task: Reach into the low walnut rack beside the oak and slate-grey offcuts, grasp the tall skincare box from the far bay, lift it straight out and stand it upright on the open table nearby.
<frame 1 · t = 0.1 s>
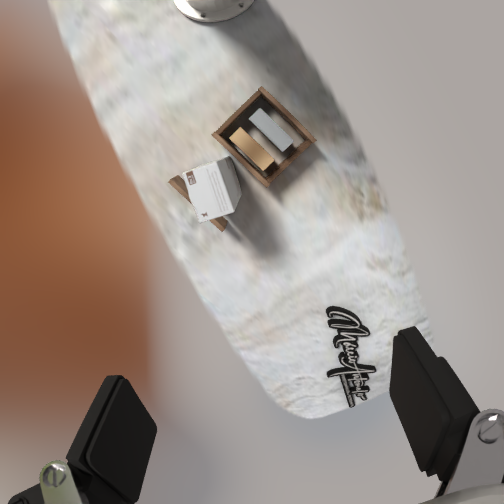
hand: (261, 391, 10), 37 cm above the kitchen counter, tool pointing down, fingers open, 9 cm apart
walnut rack: (242, 157, 42), on the kitchen counter
oak offcut: (252, 147, 42), resting in walnut rack
slate offcut: (269, 130, 41), resting in walnut rack
skincare box: (221, 178, 44), on the kitchen counter
nameplate: (348, 358, 56), on the kitchen counter
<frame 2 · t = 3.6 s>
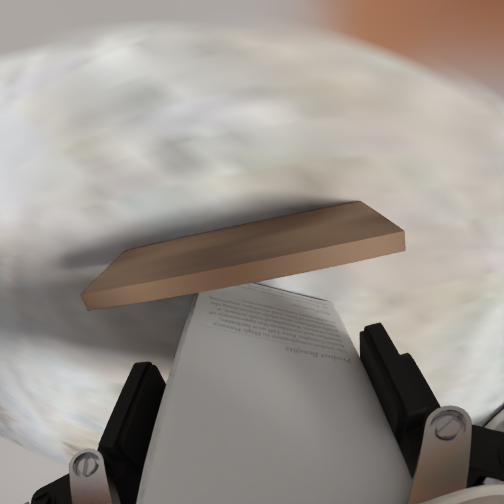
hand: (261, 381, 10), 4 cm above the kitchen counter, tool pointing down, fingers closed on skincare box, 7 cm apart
walnut rack: (277, 386, 15), on the kitchen counter
skincare box: (261, 319, 14), on the kitchen counter, touching gripper
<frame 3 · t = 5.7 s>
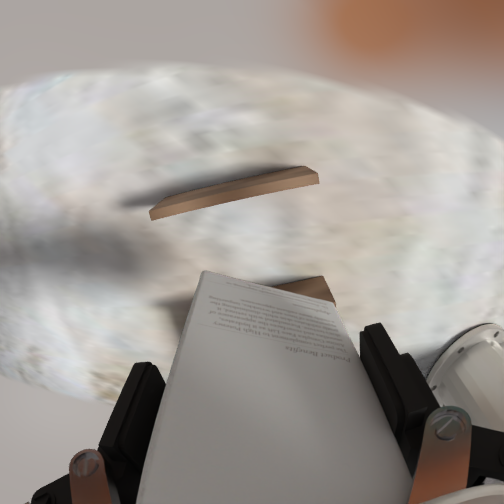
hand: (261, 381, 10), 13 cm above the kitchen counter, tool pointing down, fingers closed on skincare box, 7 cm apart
walnut rack: (260, 292, 24), on the kitchen counter
skincare box: (261, 318, 14), point 9 cm above the kitchen counter, touching gripper
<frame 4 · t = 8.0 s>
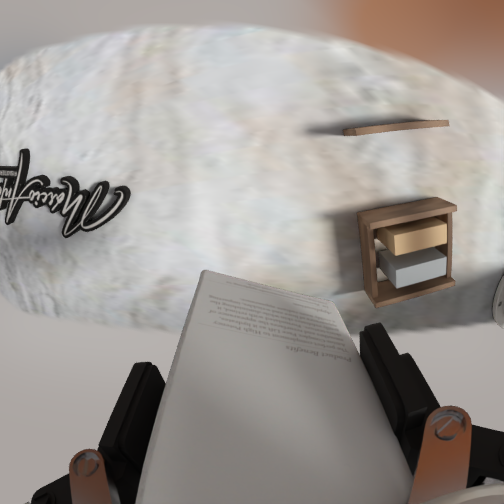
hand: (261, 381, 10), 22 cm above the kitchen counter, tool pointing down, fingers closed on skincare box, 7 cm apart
walnut rack: (400, 206, 30), on the kitchen counter
oak offcut: (401, 224, 31), resting in walnut rack
slate offcut: (402, 254, 32), resting in walnut rack
skincare box: (261, 318, 14), point 18 cm above the kitchen counter, touching gripper
nameplate: (36, 188, 30), on the kitchen counter
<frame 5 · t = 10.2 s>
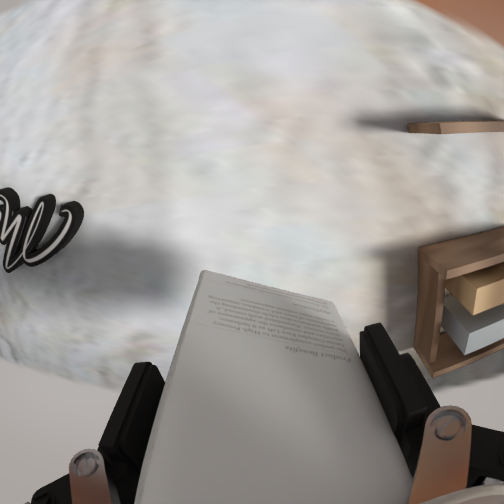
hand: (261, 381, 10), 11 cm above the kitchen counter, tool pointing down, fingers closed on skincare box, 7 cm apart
walnut rack: (470, 238, 19), on the kitchen counter
oak offcut: (468, 262, 20), resting in walnut rack
slate offcut: (464, 299, 21), resting in walnut rack
skincare box: (261, 318, 14), point 7 cm above the kitchen counter, touching gripper
when the fingers open (5 cm above the kitchen counter, at t = 12.3 s): skincare box drops 1 cm, on the kitchen counter.
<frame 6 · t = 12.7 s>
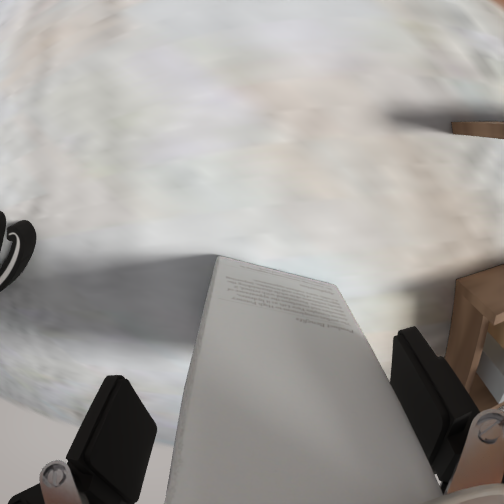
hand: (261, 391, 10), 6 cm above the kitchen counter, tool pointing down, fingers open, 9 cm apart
slate offcut: (497, 333, 16), resting in walnut rack
skincare box: (270, 301, 15), on the kitchen counter
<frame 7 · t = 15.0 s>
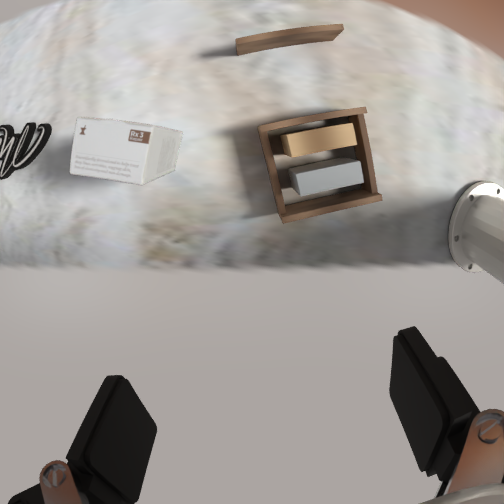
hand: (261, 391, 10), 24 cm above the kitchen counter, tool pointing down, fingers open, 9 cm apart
walnut rack: (306, 120, 29), on the kitchen counter
oak offcut: (310, 138, 30), resting in walnut rack
slate offcut: (318, 171, 31), resting in walnut rack
skincare box: (154, 145, 29), on the kitchen counter
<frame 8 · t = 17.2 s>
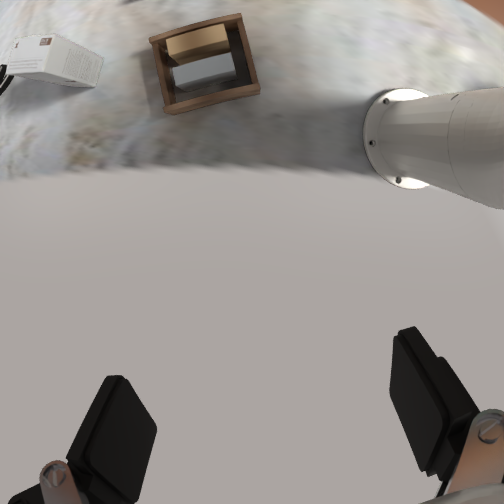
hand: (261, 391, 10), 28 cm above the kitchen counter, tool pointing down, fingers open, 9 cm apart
walnut rack: (200, 36, 29), on the kitchen counter
oak offcut: (203, 51, 30), resting in walnut rack
slate offcut: (210, 77, 31), resting in walnut rack
skincare box: (84, 70, 30), on the kitchen counter
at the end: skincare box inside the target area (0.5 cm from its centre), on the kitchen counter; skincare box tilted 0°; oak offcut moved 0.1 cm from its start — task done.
